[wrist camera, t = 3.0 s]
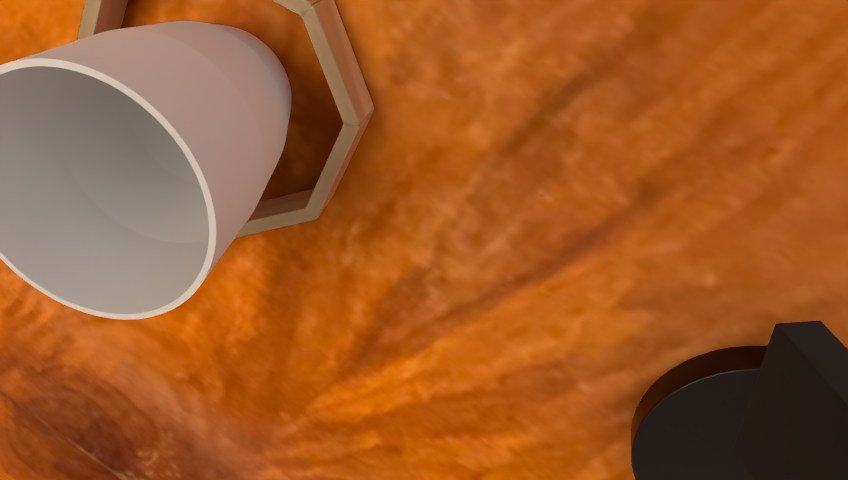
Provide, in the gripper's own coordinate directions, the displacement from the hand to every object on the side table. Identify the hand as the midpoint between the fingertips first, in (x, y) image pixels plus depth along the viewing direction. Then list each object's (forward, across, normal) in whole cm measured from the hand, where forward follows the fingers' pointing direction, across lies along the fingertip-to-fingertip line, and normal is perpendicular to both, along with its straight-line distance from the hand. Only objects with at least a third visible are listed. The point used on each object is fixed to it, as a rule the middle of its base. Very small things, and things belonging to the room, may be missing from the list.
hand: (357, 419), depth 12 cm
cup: (+21, -3, -3) cm, 22 cm away
